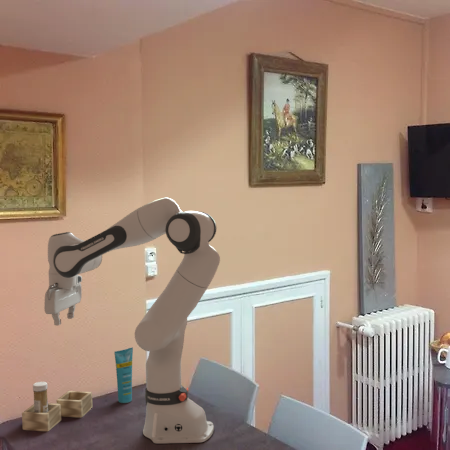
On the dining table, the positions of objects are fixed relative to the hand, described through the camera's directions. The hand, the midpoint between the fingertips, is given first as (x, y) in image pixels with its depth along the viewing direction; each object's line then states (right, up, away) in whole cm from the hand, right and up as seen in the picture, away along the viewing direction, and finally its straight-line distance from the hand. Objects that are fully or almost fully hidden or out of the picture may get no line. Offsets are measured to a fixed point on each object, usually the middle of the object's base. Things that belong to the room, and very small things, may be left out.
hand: (64, 321), depth 198 cm
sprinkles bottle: (-7, -33, -3) cm, 34 cm away
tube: (+18, -32, +16) cm, 40 cm away
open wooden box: (+2, -33, +7) cm, 33 cm away
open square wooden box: (-6, -34, -3) cm, 34 cm away
